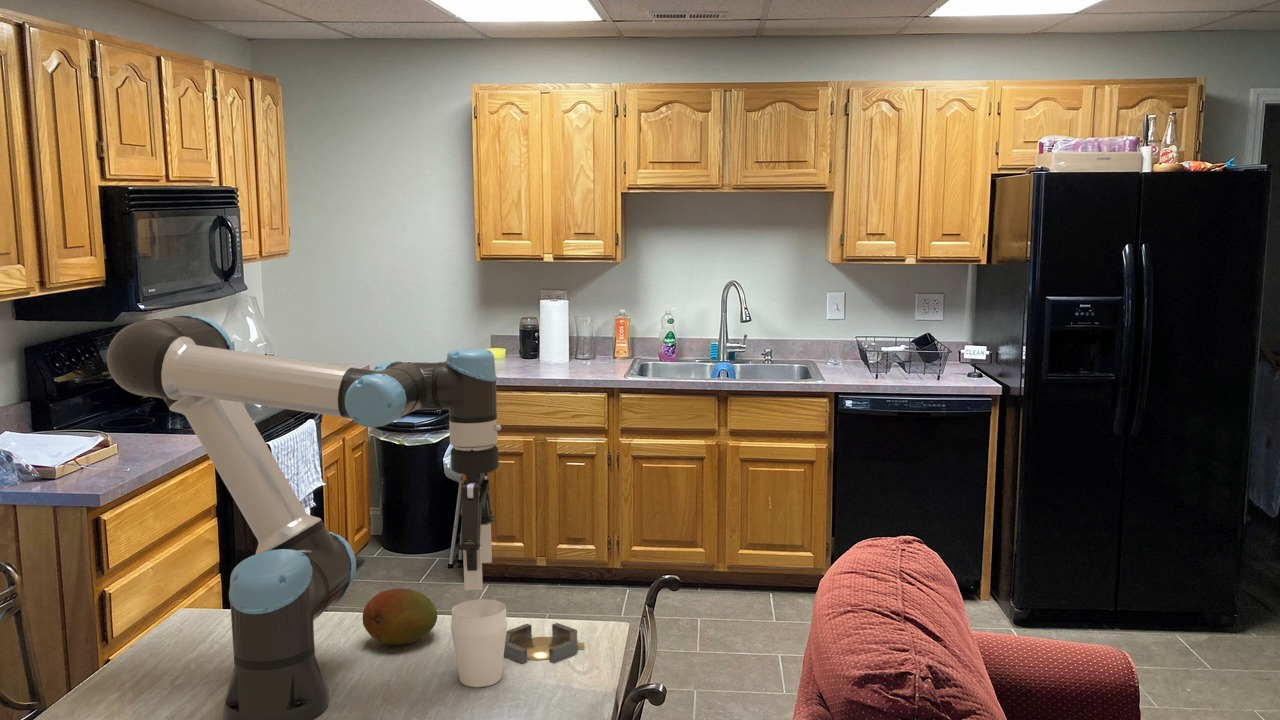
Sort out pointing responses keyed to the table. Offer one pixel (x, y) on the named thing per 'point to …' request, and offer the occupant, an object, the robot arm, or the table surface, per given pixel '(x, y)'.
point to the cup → (479, 640)
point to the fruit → (399, 616)
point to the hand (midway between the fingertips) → (478, 575)
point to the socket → (541, 644)
